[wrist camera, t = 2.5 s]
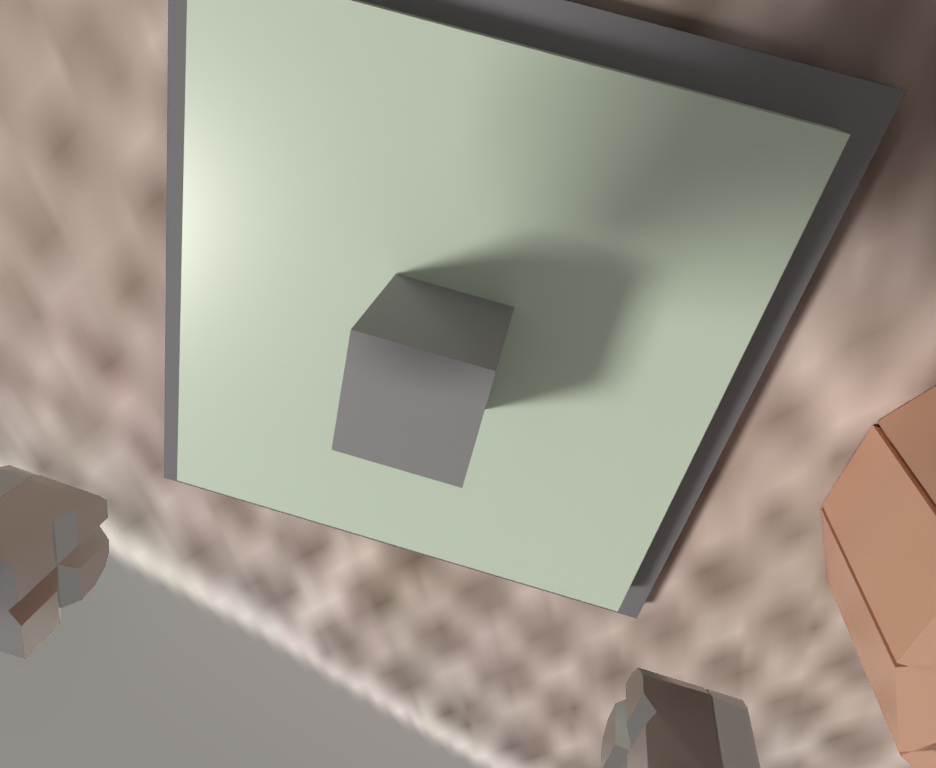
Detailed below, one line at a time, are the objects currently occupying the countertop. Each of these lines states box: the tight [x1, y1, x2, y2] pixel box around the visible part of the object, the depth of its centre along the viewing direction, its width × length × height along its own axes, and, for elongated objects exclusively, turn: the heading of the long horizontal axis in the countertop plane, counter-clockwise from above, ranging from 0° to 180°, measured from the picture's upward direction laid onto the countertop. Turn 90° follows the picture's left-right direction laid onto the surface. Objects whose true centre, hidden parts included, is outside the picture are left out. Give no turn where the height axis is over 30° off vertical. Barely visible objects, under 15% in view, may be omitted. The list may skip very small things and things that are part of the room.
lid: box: [177, 0, 850, 611], centre depth 16 cm, size 14×14×4 cm
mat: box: [164, 0, 906, 618], centre depth 18 cm, size 16×16×1 cm
